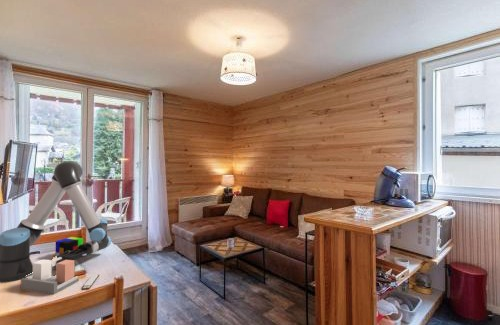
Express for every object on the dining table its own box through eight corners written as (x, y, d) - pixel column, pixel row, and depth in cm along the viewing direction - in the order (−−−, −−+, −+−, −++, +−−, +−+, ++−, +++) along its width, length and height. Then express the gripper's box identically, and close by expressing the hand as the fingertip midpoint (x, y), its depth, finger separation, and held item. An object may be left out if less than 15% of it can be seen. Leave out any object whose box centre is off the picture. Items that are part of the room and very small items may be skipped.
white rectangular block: (44, 276, 126) (44, 258, 126) (52, 277, 125) (52, 259, 125) (32, 281, 121) (32, 263, 121) (41, 283, 120) (41, 264, 120)
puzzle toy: (55, 257, 156) (55, 241, 156) (71, 252, 165) (71, 236, 165) (67, 259, 153) (67, 243, 153) (82, 254, 162) (83, 238, 162)
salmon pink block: (66, 277, 127) (67, 259, 126) (75, 278, 126) (75, 260, 126) (56, 282, 121) (56, 263, 121) (64, 283, 120) (65, 264, 120)
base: (48, 277, 130) (48, 267, 130) (78, 281, 126) (78, 271, 126) (20, 289, 117) (21, 279, 117) (53, 294, 113) (54, 283, 113)
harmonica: (92, 277, 132) (92, 273, 132) (99, 276, 133) (99, 272, 133) (81, 291, 118) (81, 286, 118) (89, 290, 119) (89, 286, 119)
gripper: (97, 256, 148) (59, 273, 125) (78, 254, 150) (37, 270, 127) (97, 243, 148) (59, 258, 125) (78, 241, 150) (38, 256, 127)
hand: (48, 264), depth 126 cm, fingers closed
